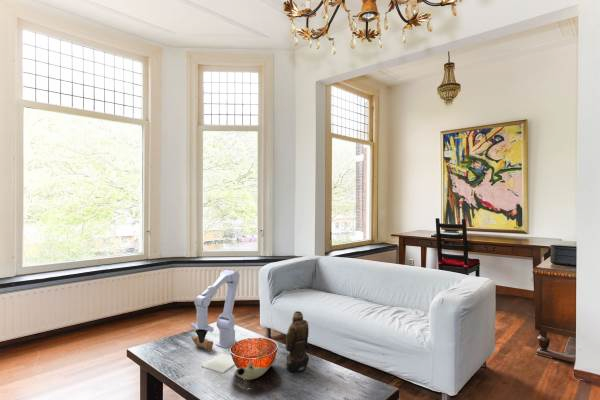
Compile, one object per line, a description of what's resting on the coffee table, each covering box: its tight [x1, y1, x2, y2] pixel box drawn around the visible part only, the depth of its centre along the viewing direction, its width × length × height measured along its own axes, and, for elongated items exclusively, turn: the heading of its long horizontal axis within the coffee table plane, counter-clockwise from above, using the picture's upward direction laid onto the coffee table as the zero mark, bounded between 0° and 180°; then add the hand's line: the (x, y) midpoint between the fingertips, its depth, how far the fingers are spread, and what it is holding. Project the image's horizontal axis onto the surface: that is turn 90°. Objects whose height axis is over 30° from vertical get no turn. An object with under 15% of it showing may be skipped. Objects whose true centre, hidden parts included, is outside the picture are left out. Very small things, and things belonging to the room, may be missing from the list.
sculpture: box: [285, 310, 310, 374], centre depth 180 cm, size 12×13×30 cm
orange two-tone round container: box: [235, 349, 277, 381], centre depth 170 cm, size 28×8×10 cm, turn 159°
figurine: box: [191, 335, 214, 352], centre depth 201 cm, size 8×8×15 cm
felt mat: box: [201, 352, 236, 374], centre depth 184 cm, size 16×14×1 cm
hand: (201, 342), depth 189 cm, fingers closed
